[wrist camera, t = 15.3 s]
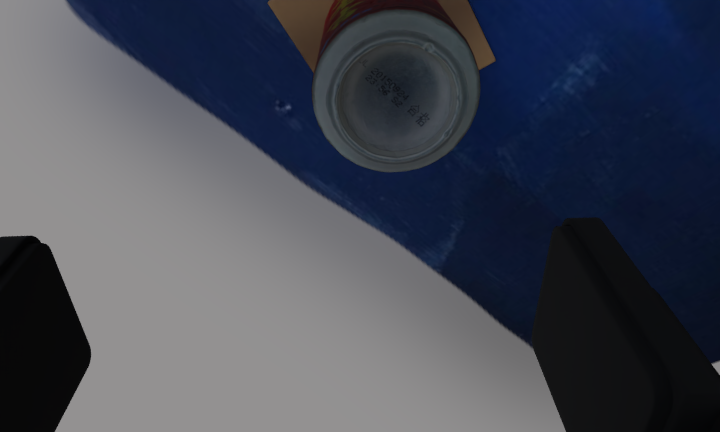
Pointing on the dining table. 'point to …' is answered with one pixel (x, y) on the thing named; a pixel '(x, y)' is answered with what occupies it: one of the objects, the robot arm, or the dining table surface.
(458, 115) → the soda can
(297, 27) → the cork mat
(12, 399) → the robot arm
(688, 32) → the dining table surface
